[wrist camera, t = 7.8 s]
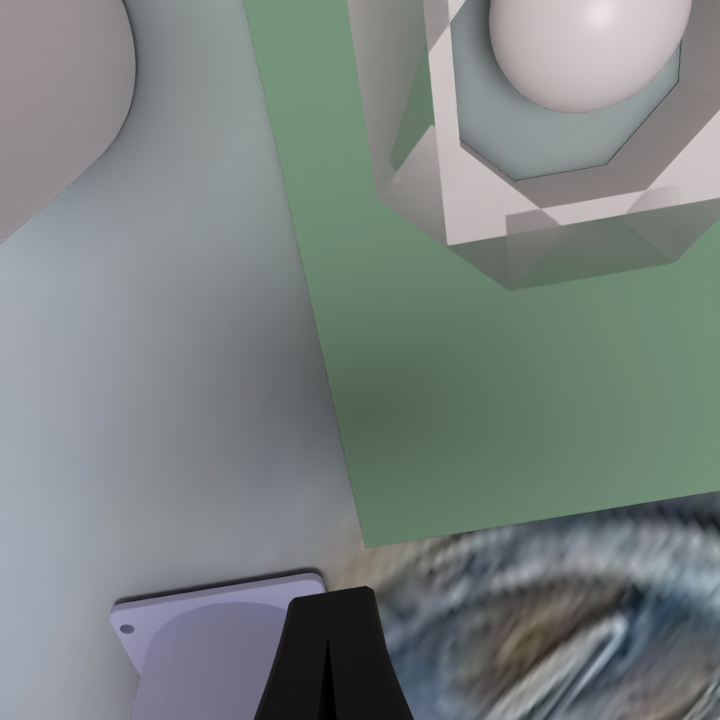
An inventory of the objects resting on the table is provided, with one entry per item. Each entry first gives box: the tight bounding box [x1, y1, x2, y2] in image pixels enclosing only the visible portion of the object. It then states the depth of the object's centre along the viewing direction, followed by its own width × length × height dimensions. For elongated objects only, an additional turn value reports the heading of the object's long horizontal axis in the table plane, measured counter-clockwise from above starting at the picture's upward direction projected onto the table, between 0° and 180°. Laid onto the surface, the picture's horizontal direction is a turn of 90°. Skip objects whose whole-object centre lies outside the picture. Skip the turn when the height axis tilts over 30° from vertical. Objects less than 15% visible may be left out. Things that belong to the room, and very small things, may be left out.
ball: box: [489, 0, 692, 113], centre depth 14 cm, size 4×4×4 cm
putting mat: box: [244, 0, 720, 548], centre depth 17 cm, size 18×14×2 cm
